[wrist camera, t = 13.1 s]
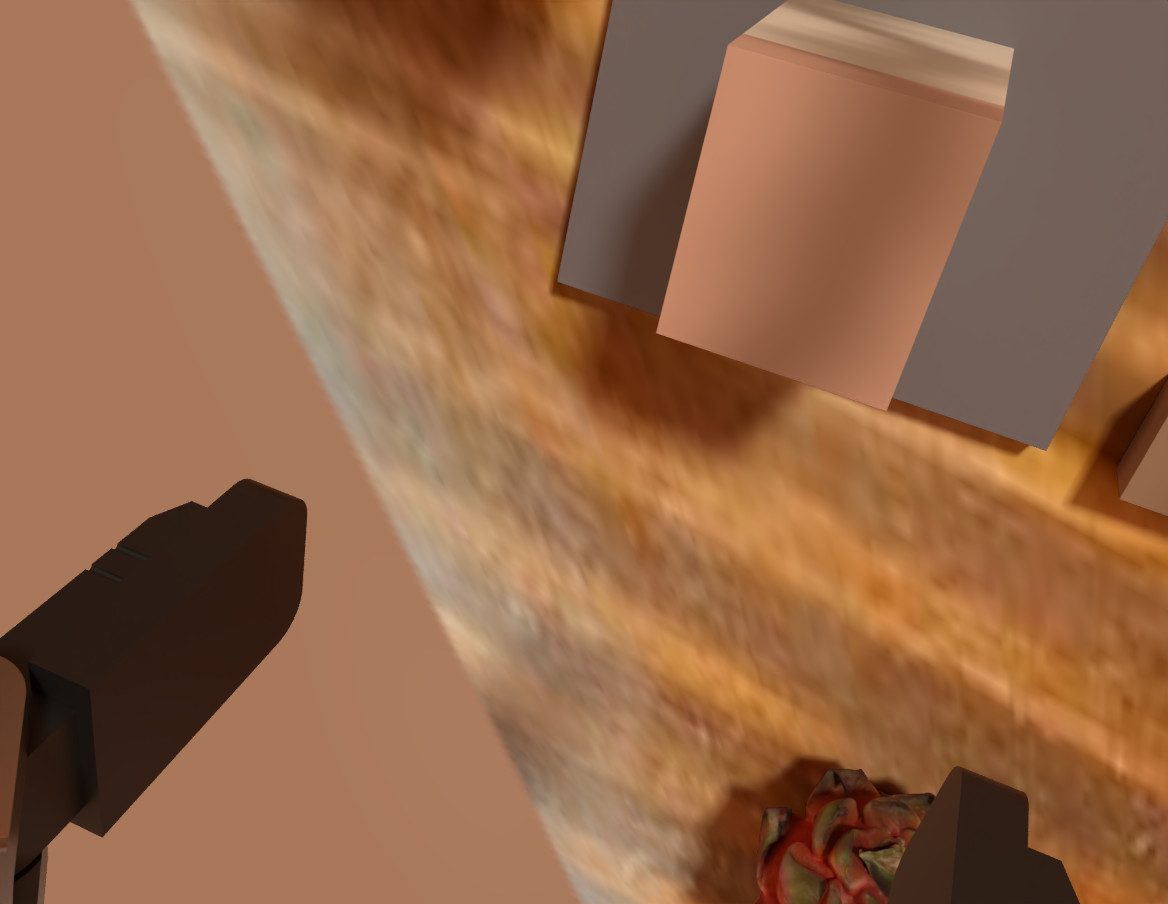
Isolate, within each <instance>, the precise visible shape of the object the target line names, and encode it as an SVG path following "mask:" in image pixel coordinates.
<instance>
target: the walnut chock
mask: <svg viewBox="0 0 1168 904" xmlns="http://www.w3.org/2000/svg"><path fill="white" fill-rule="evenodd" d="M1117 478H1118V489H1119V499H1120V500H1123V501H1126V502H1129V503H1132V504H1134V505H1137V506H1140V507H1143V508H1146V509H1149V510H1152V511H1154V512H1157V513H1160V514H1163V515H1166V516H1168V378H1167V380H1166V382H1165V384H1164V385H1163V387H1162V389H1161V391H1160V392H1159V394H1158V396H1157V398H1156V399H1155V401H1154V403H1153V405H1152V406H1151V408H1150V410H1149V412H1148V413H1147V415H1146V417H1145V419H1144V420H1143V422H1142V424H1141V426H1140V427H1139V429H1138V431H1137V433H1136V434H1135V436H1134V438H1133V440H1132V442H1131V443H1130V445H1129V447H1128V449H1127V450H1126V452H1125V454H1124V456H1123V457H1122V459H1121V461H1120V463H1119V464H1118V466H1117Z"/></svg>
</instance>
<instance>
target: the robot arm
mask: <svg viewBox="0 0 1168 904" xmlns="http://www.w3.org/2000/svg"><path fill="white" fill-rule="evenodd" d="M306 523H307V507H306V504H305V502H304V501H303V500H301V499H299V498H296V497H294V496H291V495H289V494H286V493H284V492H281V491H279V490H276V489H274V488H271V487H269V486H266V485H264V484H261V483H259V482H256V481H254V480H251V479H243V480H241V481H239V482H237V483H236V484H235V485H233V486H232V487H231V488H230V489H229V490H228V491H226V492H225V493H224V494H223V495H222V496H220V497H219V498H218V499H217V500H216V501H215V502H213V503H212V504H211V505H210V506H209V507H208V508H207V507H205V506H202V505H199V504H197V503H195V502H192V501H191V502H188V503H186V504H183V505H181V506H178V507H176V508H173V509H171V510H168V511H166V512H163V513H160V514H158V515H155V516H153V517H150V518H148V519H147V520H146V521H145V522H143V523H142V524H141V525H140V526H139V527H138V528H136V529H135V530H134V531H132V532H131V533H130V534H129V535H128V536H126V537H125V538H124V539H122V540H121V541H120V542H119V543H118V545H117V547H116V549H112V548H111V549H110V550H109V551H108V552H106V553H105V554H104V555H103V556H101V557H100V558H99V559H98V560H96V562H94V563H93V564H92V567H91V569H90V570H89V571H88V570H84V571H83V572H82V573H80V574H79V575H78V576H77V577H75V578H74V579H73V580H72V581H70V582H69V583H68V584H67V585H66V586H64V587H63V588H62V589H61V590H59V591H58V592H57V593H56V594H54V595H53V596H52V597H51V598H49V599H48V600H47V601H46V602H44V603H43V604H42V605H41V606H40V607H38V608H37V609H36V610H35V611H33V612H32V613H31V614H30V615H28V616H27V617H26V618H25V619H24V620H22V621H21V622H20V623H19V624H17V625H16V626H15V627H14V628H12V629H11V630H10V631H9V632H7V633H6V634H5V635H4V636H2V637H1V638H0V904H44V895H45V884H46V871H47V861H48V848H47V845H48V844H49V843H50V842H51V841H52V840H53V839H54V838H55V837H56V836H57V835H58V834H59V833H60V831H61V830H62V829H63V828H64V827H65V826H66V825H67V824H68V823H69V822H72V823H74V824H76V825H78V826H80V827H82V828H84V829H86V830H88V831H90V832H92V833H94V834H96V835H98V836H100V837H103V836H104V835H105V834H106V833H107V832H108V831H109V829H110V828H111V827H112V826H113V825H114V824H115V823H116V822H117V821H118V820H119V818H120V817H121V816H122V815H123V814H124V813H125V812H126V811H127V809H129V807H130V806H131V805H132V804H133V803H134V802H135V801H136V800H137V799H138V797H139V796H140V795H141V794H142V793H143V792H144V791H145V790H146V789H147V787H148V786H149V785H150V784H151V783H152V782H153V781H154V780H155V779H156V778H157V776H158V775H159V774H160V773H161V772H162V771H163V770H164V769H165V768H166V766H167V765H168V764H169V763H170V762H171V761H172V760H173V759H174V758H175V757H176V755H177V754H178V753H179V752H180V751H181V750H182V749H183V748H184V747H185V745H186V744H187V743H188V742H189V741H190V740H191V739H192V738H193V737H194V736H195V734H196V733H197V732H198V731H199V730H200V729H201V728H202V727H203V726H204V724H205V723H206V722H207V721H208V720H209V719H210V718H211V717H212V716H213V715H214V713H215V712H216V711H217V710H218V709H219V708H220V707H221V706H222V704H223V703H224V702H225V701H226V700H227V699H228V698H229V697H230V696H231V695H232V694H233V692H234V691H235V690H236V689H237V688H238V687H239V686H240V685H241V684H242V682H243V681H244V680H245V679H246V678H247V677H248V676H249V675H250V674H251V672H252V671H253V670H254V669H255V668H256V667H257V666H258V665H259V664H260V663H261V661H262V660H263V659H264V658H265V657H266V656H267V655H268V654H269V652H270V651H271V650H272V649H273V648H274V647H275V646H276V645H277V644H278V643H279V641H280V640H281V639H282V637H283V636H284V635H285V634H286V632H287V630H288V629H289V627H290V625H291V623H292V622H293V620H294V617H295V615H296V613H297V610H298V607H299V604H300V600H301V595H302V586H303V571H304V556H305V555H304V554H305V540H306V525H307V524H306ZM1028 811H1029V807H1028V798H1027V795H1026V794H1025V793H1024V792H1021V791H1019V790H1016V789H1014V788H1012V787H1009V786H1007V785H1004V784H1002V783H999V782H997V781H994V780H992V779H989V778H987V777H984V776H982V775H979V774H977V773H974V772H972V771H969V770H967V769H964V768H962V767H959V766H957V767H955V768H954V769H953V770H952V771H951V772H950V774H949V775H948V777H947V778H946V780H945V782H944V784H943V785H942V787H941V789H940V790H939V792H938V794H937V796H936V797H935V799H934V801H933V802H932V804H931V806H930V808H929V809H928V811H927V813H926V814H925V816H924V818H923V820H922V821H921V823H920V825H919V826H918V828H917V830H916V832H915V833H914V835H913V837H912V838H911V840H910V842H909V844H908V845H907V847H906V849H905V851H904V853H903V855H902V857H901V860H900V862H899V865H898V867H897V870H896V873H895V876H894V879H893V882H892V886H891V890H890V893H889V898H888V903H887V904H1080V903H1079V901H1078V898H1077V896H1076V894H1075V891H1074V889H1073V887H1072V884H1071V882H1070V880H1069V878H1068V875H1067V873H1066V871H1065V868H1064V866H1063V864H1062V861H1060V860H1058V859H1055V858H1053V857H1050V856H1048V855H1045V854H1043V853H1041V852H1038V851H1036V850H1033V849H1031V848H1028Z"/></svg>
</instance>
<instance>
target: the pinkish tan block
mask: <svg viewBox="0 0 1168 904" xmlns="http://www.w3.org/2000/svg"><path fill="white" fill-rule="evenodd" d="M1013 52H1014V48H1010V47H1006V46H1003V45H999V44H995V43H992V42H988V41H984V40H980V39H977V38H973V37H969V36H965V35H962V34H958V33H954V32H951V31H947V30H943V29H939V28H936V27H932V26H928V25H924V24H921V23H917V22H913V21H910V20H906V19H902V18H898V17H895V16H891V15H887V14H883V13H880V12H876V11H872V10H869V9H865V8H861V7H857V6H854V5H850V4H846V3H842V2H839V1H835V0H787V1H786V2H785V3H783V4H782V5H781V6H779V7H778V8H777V9H775V10H774V11H773V12H771V13H770V14H769V15H767V16H766V17H765V18H763V19H762V20H761V21H759V22H758V23H757V24H755V25H754V26H753V27H751V28H750V29H749V30H747V31H746V32H745V33H743V34H742V35H741V36H739V37H738V38H737V39H735V40H734V41H733V42H731V43H730V44H728V47H727V51H726V55H725V59H724V63H723V67H722V71H721V75H720V79H719V83H718V87H717V91H716V95H715V99H714V103H713V107H712V111H711V115H710V119H709V123H708V127H707V131H706V135H705V139H704V143H703V147H702V151H701V155H700V159H699V163H698V167H697V171H696V175H695V179H694V183H693V187H692V191H691V195H690V199H689V203H688V207H687V211H686V215H685V219H684V223H683V227H682V231H681V235H680V239H679V243H678V247H677V251H676V255H675V259H674V263H673V267H672V271H671V275H670V279H669V283H668V287H667V291H666V296H665V300H664V304H663V308H662V312H661V316H660V320H659V324H658V328H657V332H656V333H657V334H660V335H663V336H666V337H669V338H672V339H675V340H678V341H681V342H684V343H687V344H690V345H693V346H696V347H698V348H701V349H704V350H707V351H710V352H713V353H716V354H719V355H722V356H725V357H728V358H731V359H734V360H737V361H740V362H743V363H746V364H749V365H752V366H755V367H757V368H760V369H763V370H766V371H769V372H772V373H775V374H778V375H781V376H784V377H787V378H790V379H793V380H796V381H799V382H802V383H805V384H808V385H811V386H813V387H816V388H819V389H822V390H825V391H828V392H831V393H834V394H837V395H840V396H843V397H846V398H849V399H852V400H855V401H858V402H861V403H864V404H867V405H870V406H872V407H875V408H878V409H881V410H884V411H887V409H888V406H889V404H890V401H891V399H892V396H893V394H894V391H895V389H896V386H897V384H898V381H899V379H900V376H901V374H902V371H903V369H904V366H905V364H906V361H907V359H908V356H909V354H910V351H911V348H912V346H913V343H914V341H915V338H916V336H917V333H918V331H919V328H920V326H921V323H922V321H923V318H924V316H925V313H926V311H927V308H928V306H929V303H930V301H931V298H932V296H933V293H934V291H935V288H936V286H937V283H938V281H939V278H940V276H941V273H942V271H943V268H944V266H945V263H946V261H947V258H948V256H949V253H950V251H951V248H952V246H953V243H954V241H955V238H956V236H957V233H958V231H959V228H960V226H961V223H962V221H963V218H964V216H965V213H966V211H967V208H968V206H969V203H970V201H971V198H972V196H973V193H974V191H975V188H976V186H977V183H978V181H979V178H980V176H981V173H982V171H983V168H984V166H985V163H986V161H987V158H988V156H989V153H990V151H991V148H992V146H993V143H994V141H995V138H996V136H997V133H998V130H999V128H1000V125H1001V123H1002V118H1003V112H1004V106H1005V100H1006V94H1007V88H1008V82H1009V76H1010V70H1011V64H1012V58H1013Z"/></svg>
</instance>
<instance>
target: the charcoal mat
mask: <svg viewBox="0 0 1168 904" xmlns="http://www.w3.org/2000/svg"><path fill="white" fill-rule="evenodd" d="M786 1H787V0H613V2H612V7H611V12H610V17H609V23H608V28H607V33H606V38H605V43H604V48H603V53H602V58H601V63H600V68H599V73H598V78H597V83H596V88H595V93H594V98H593V103H592V108H591V113H590V119H589V124H588V129H587V134H586V139H585V144H584V149H583V154H582V159H581V164H580V169H579V174H578V179H577V184H576V189H575V194H574V199H573V204H572V209H571V215H570V220H569V225H568V230H567V235H566V240H565V245H564V250H563V255H562V260H561V265H560V270H559V275H558V280H557V282H560V283H563V284H565V285H568V286H571V287H574V288H577V289H580V290H583V291H586V292H589V293H591V294H594V295H597V296H600V297H603V298H606V299H609V300H612V301H615V302H617V303H620V304H623V305H626V306H629V307H632V308H635V309H638V310H641V311H643V312H646V313H649V314H652V315H655V316H658V317H660V316H661V312H662V308H663V304H664V300H665V296H666V291H667V287H668V283H669V279H670V275H671V271H672V267H673V263H674V259H675V255H676V251H677V247H678V243H679V239H680V235H681V231H682V227H683V223H684V219H685V215H686V211H687V207H688V203H689V199H690V195H691V191H692V187H693V183H694V179H695V175H696V171H697V167H698V163H699V159H700V155H701V151H702V147H703V143H704V139H705V135H706V131H707V127H708V123H709V119H710V115H711V111H712V107H713V103H714V99H715V95H716V91H717V87H718V83H719V79H720V75H721V71H722V67H723V63H724V59H725V55H726V51H727V47H728V44H730V43H731V42H733V41H734V40H735V39H737V38H738V37H739V36H741V35H742V34H743V33H745V32H746V31H747V30H749V29H750V28H751V27H753V26H754V25H755V24H757V23H758V22H759V21H761V20H762V19H763V18H765V17H766V16H767V15H769V14H770V13H771V12H773V11H774V10H775V9H777V8H778V7H779V6H781V5H782V4H783V3H785V2H786ZM835 1H839V2H842V3H846V4H850V5H854V6H857V7H861V8H865V9H869V10H872V11H876V12H880V13H883V14H887V15H891V16H895V17H898V18H902V19H906V20H910V21H913V22H917V23H921V24H924V25H928V26H932V27H936V28H939V29H943V30H947V31H951V32H954V33H958V34H962V35H965V36H969V37H973V38H977V39H980V40H984V41H988V42H992V43H995V44H999V45H1003V46H1006V47H1010V48H1014V52H1013V58H1012V64H1011V70H1010V76H1009V82H1008V88H1007V94H1006V100H1005V106H1004V112H1003V118H1002V123H1001V125H1000V128H999V130H998V133H997V136H996V138H995V141H994V143H993V146H992V148H991V151H990V153H989V156H988V158H987V161H986V163H985V166H984V168H983V171H982V173H981V176H980V178H979V181H978V183H977V186H976V188H975V191H974V193H973V196H972V198H971V201H970V203H969V206H968V208H967V211H966V213H965V216H964V218H963V221H962V223H961V226H960V228H959V231H958V233H957V236H956V238H955V241H954V243H953V246H952V248H951V251H950V253H949V256H948V258H947V261H946V263H945V266H944V268H943V271H942V273H941V276H940V278H939V281H938V283H937V286H936V288H935V291H934V293H933V296H932V298H931V301H930V303H929V306H928V308H927V311H926V313H925V316H924V318H923V321H922V323H921V326H920V328H919V331H918V333H917V336H916V338H915V341H914V343H913V346H912V348H911V351H910V354H909V356H908V359H907V361H906V364H905V366H904V369H903V371H902V374H901V376H900V379H899V381H898V384H897V386H896V389H895V391H894V394H893V396H892V398H895V399H898V400H901V401H903V402H906V403H909V404H912V405H915V406H918V407H921V408H924V409H927V410H929V411H932V412H935V413H938V414H941V415H944V416H947V417H950V418H953V419H955V420H958V421H961V422H964V423H967V424H970V425H973V426H976V427H979V428H981V429H984V430H987V431H990V432H993V433H996V434H999V435H1002V436H1005V437H1007V438H1010V439H1013V440H1016V441H1019V442H1022V443H1025V444H1028V445H1031V446H1034V447H1036V448H1039V449H1042V450H1045V451H1046V450H1047V448H1048V446H1049V445H1050V443H1051V441H1052V439H1053V437H1054V435H1055V433H1056V431H1057V429H1058V427H1059V425H1060V423H1061V422H1062V420H1063V418H1064V416H1065V414H1066V412H1067V410H1068V408H1069V406H1070V404H1071V402H1072V400H1073V399H1074V397H1075V395H1076V393H1077V391H1078V389H1079V387H1080V385H1081V383H1082V381H1083V379H1084V377H1085V376H1086V374H1087V372H1088V370H1089V368H1090V366H1091V364H1092V362H1093V360H1094V358H1095V356H1096V354H1097V352H1098V351H1099V349H1100V347H1101V345H1102V343H1103V341H1104V339H1105V337H1106V335H1107V333H1108V331H1109V329H1110V328H1111V326H1112V324H1113V322H1114V320H1115V318H1116V316H1117V314H1118V312H1119V310H1120V308H1121V306H1122V305H1123V303H1124V301H1125V299H1126V297H1127V295H1128V293H1129V291H1130V289H1131V287H1132V285H1133V283H1134V281H1135V280H1136V278H1137V276H1138V274H1139V272H1140V270H1141V268H1142V266H1143V264H1144V262H1145V260H1146V258H1147V257H1148V255H1149V253H1150V251H1151V249H1152V247H1153V245H1154V243H1155V241H1156V239H1157V237H1158V235H1159V234H1160V232H1161V230H1162V228H1163V226H1164V224H1165V222H1166V220H1167V218H1168V0H835Z"/></svg>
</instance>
